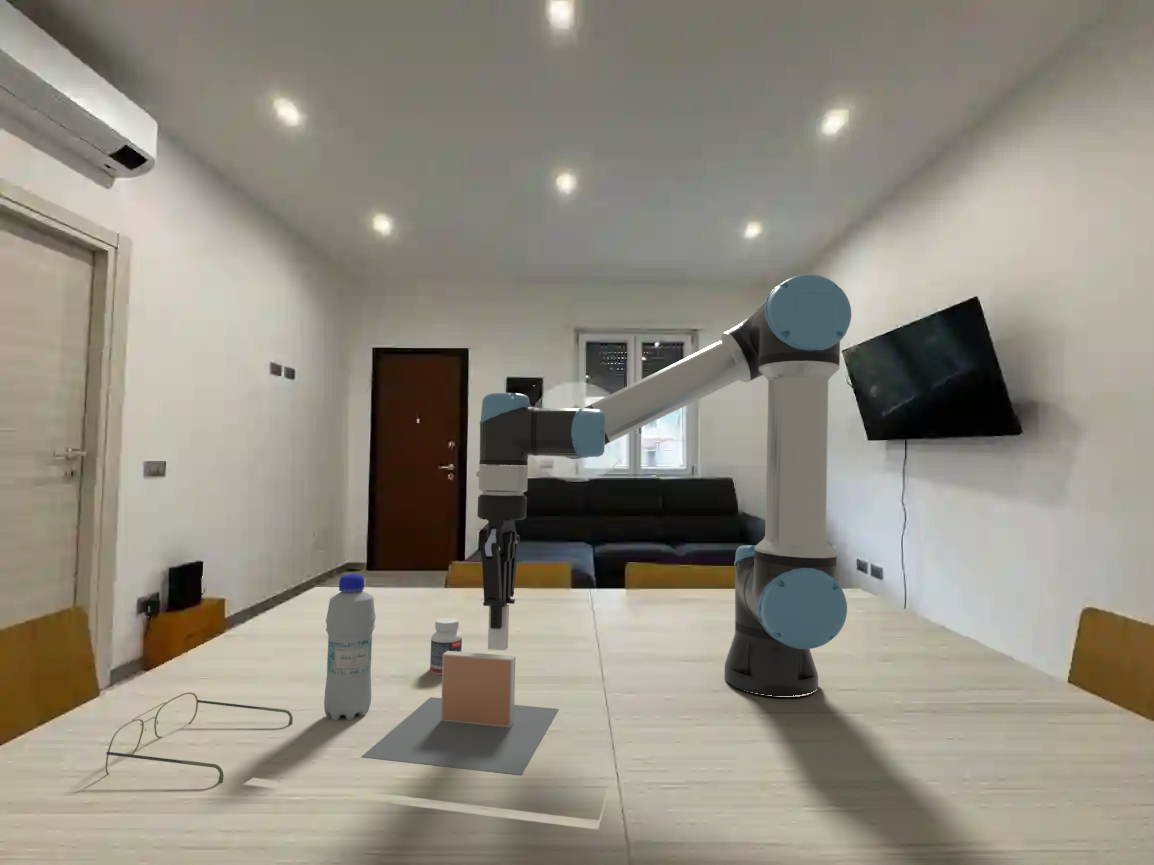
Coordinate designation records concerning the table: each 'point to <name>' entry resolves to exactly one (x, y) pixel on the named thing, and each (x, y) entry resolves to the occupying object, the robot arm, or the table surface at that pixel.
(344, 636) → the bottle
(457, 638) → the pill bottle
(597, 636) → the table surface
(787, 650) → the robot arm
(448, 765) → the mat
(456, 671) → the tile
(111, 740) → the eyeglasses
